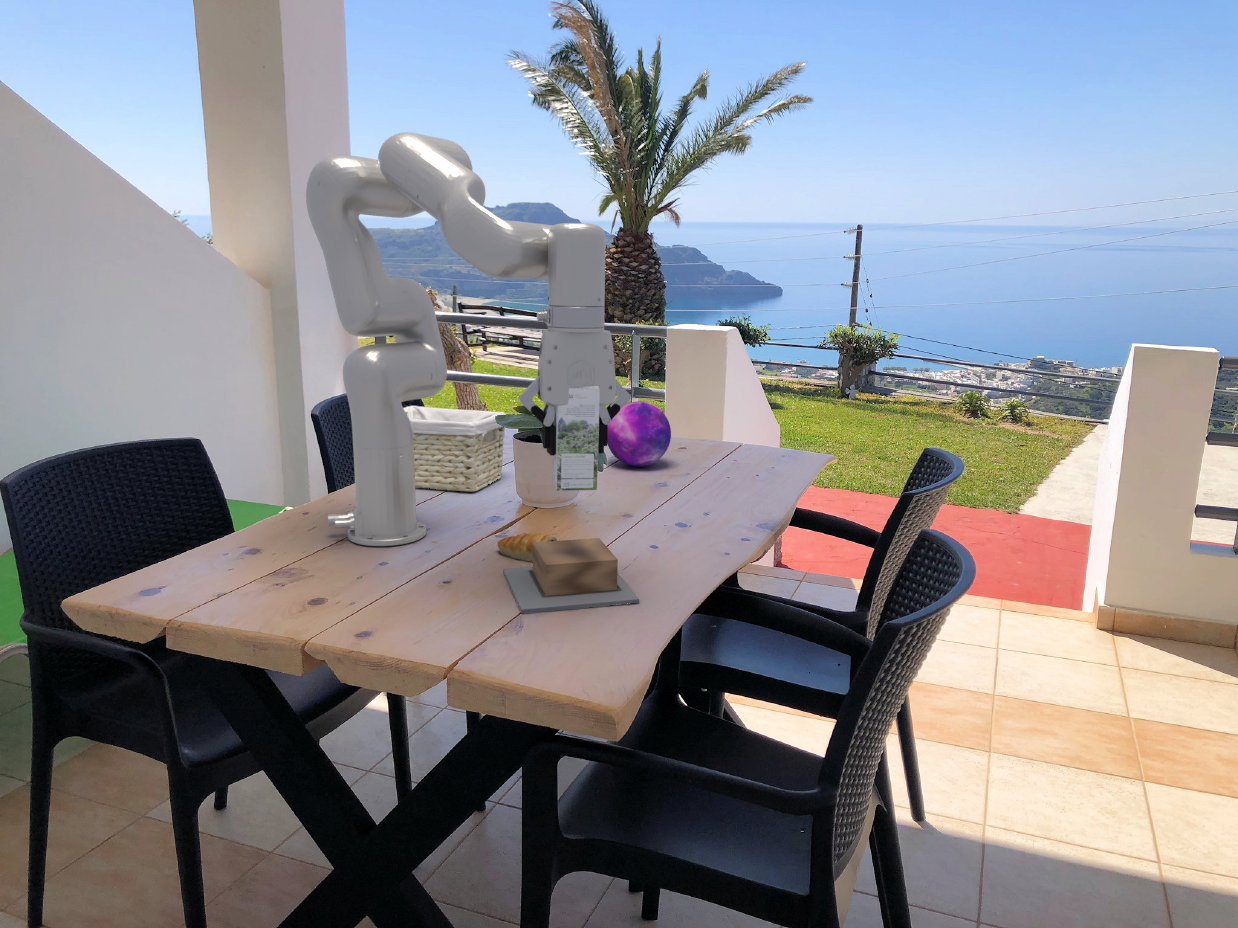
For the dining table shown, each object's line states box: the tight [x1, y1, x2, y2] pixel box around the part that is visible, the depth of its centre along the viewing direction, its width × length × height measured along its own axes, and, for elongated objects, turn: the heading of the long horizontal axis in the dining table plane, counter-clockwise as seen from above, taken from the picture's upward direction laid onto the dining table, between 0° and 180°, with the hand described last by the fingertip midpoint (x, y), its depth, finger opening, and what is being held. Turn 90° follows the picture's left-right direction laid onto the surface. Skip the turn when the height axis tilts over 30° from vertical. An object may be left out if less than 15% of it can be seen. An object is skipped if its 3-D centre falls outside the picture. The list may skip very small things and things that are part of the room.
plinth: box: [528, 537, 621, 598], centre depth 120 cm, size 11×11×5 cm
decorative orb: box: [607, 401, 672, 468], centre depth 195 cm, size 15×15×15 cm
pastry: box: [497, 531, 558, 563], centre depth 133 cm, size 9×7×4 cm
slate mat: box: [502, 566, 640, 614], centre depth 119 cm, size 16×16×1 cm
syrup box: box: [552, 386, 600, 491], centre depth 116 cm, size 6×6×14 cm
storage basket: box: [403, 405, 507, 492], centre depth 176 cm, size 24×16×15 cm
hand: (575, 451), depth 116 cm, fingers closed on syrup box, 6 cm apart
